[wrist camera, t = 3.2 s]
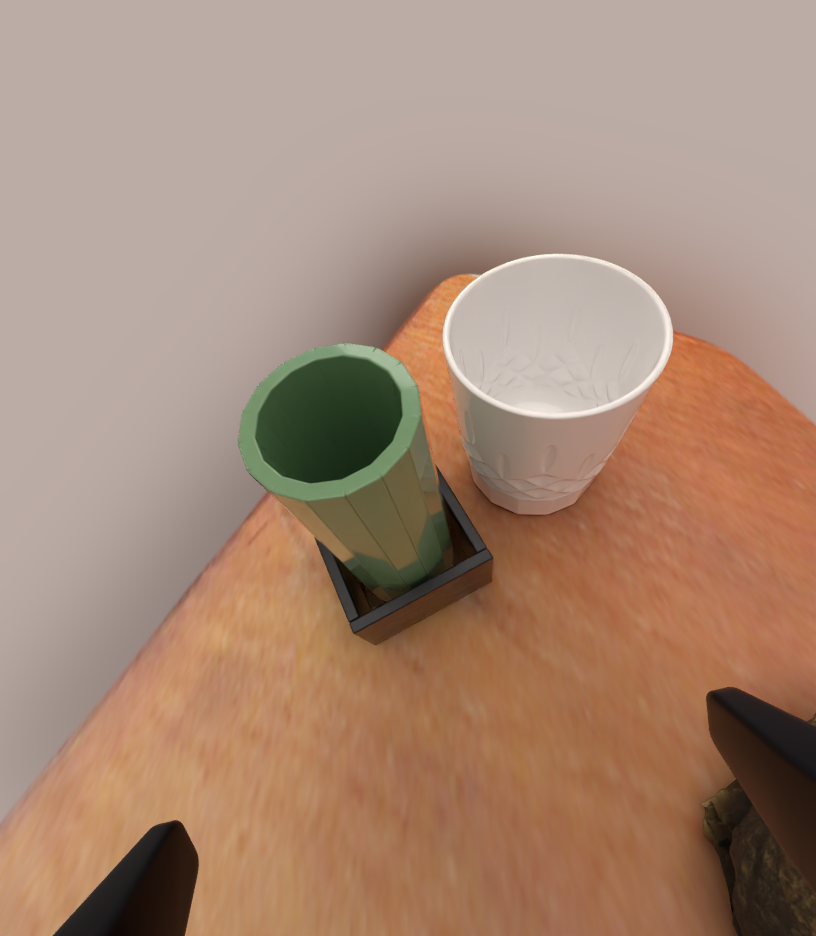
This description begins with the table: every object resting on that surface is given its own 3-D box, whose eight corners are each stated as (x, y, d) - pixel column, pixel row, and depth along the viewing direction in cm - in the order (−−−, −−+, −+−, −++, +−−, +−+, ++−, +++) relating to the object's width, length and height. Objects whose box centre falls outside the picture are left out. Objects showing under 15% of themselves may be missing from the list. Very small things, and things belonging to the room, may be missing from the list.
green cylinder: (382, 623, 22) (268, 535, 10) (345, 538, 24) (219, 392, 13) (471, 575, 22) (454, 439, 11) (426, 496, 25) (373, 318, 13)
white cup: (628, 511, 22) (717, 389, 14) (474, 540, 23) (465, 439, 14) (578, 390, 26) (623, 233, 18) (447, 417, 27) (427, 278, 18)
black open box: (375, 645, 21) (353, 634, 18) (327, 533, 25) (301, 505, 21) (492, 581, 22) (493, 557, 18) (431, 479, 25) (422, 442, 22)
